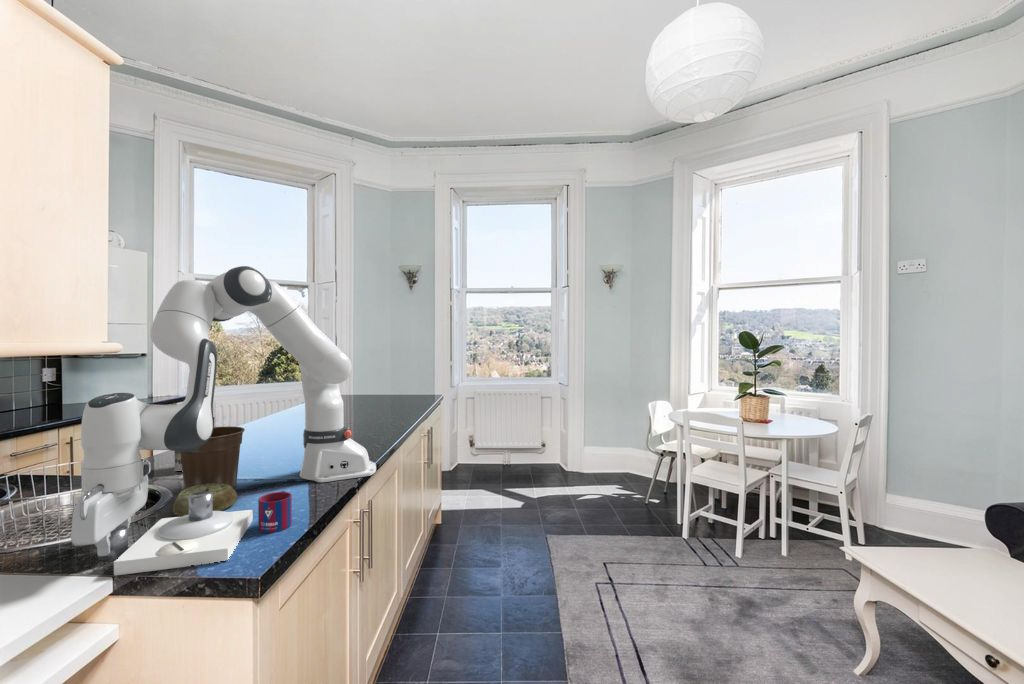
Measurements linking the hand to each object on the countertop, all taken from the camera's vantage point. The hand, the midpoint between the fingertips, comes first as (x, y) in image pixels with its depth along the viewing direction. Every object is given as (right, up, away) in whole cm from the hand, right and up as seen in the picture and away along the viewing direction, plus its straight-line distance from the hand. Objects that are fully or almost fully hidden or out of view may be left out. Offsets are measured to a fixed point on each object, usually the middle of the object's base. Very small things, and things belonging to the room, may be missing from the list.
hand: (113, 547), depth 90 cm
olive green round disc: (+2, -2, +25) cm, 25 cm away
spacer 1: (0, -2, 0) cm, 2 cm away
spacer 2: (+10, +2, +11) cm, 15 cm away
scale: (+12, -2, +5) cm, 13 cm away
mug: (+25, -2, +16) cm, 29 cm away
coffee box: (-23, 0, +57) cm, 61 cm away
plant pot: (-6, -1, +38) cm, 39 cm away
